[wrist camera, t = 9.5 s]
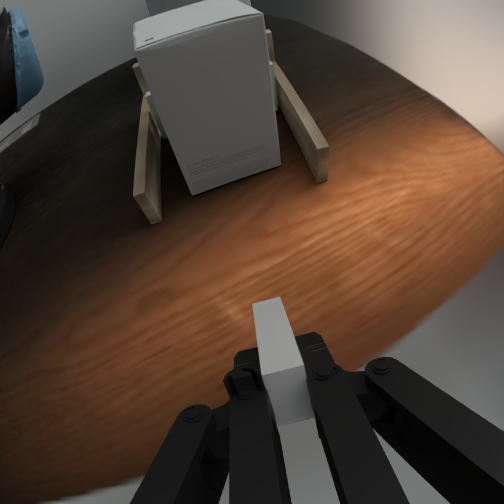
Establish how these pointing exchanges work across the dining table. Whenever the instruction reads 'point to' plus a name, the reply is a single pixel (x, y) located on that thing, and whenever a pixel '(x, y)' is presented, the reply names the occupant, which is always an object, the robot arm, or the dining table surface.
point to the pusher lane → (150, 141)
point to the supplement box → (211, 89)
